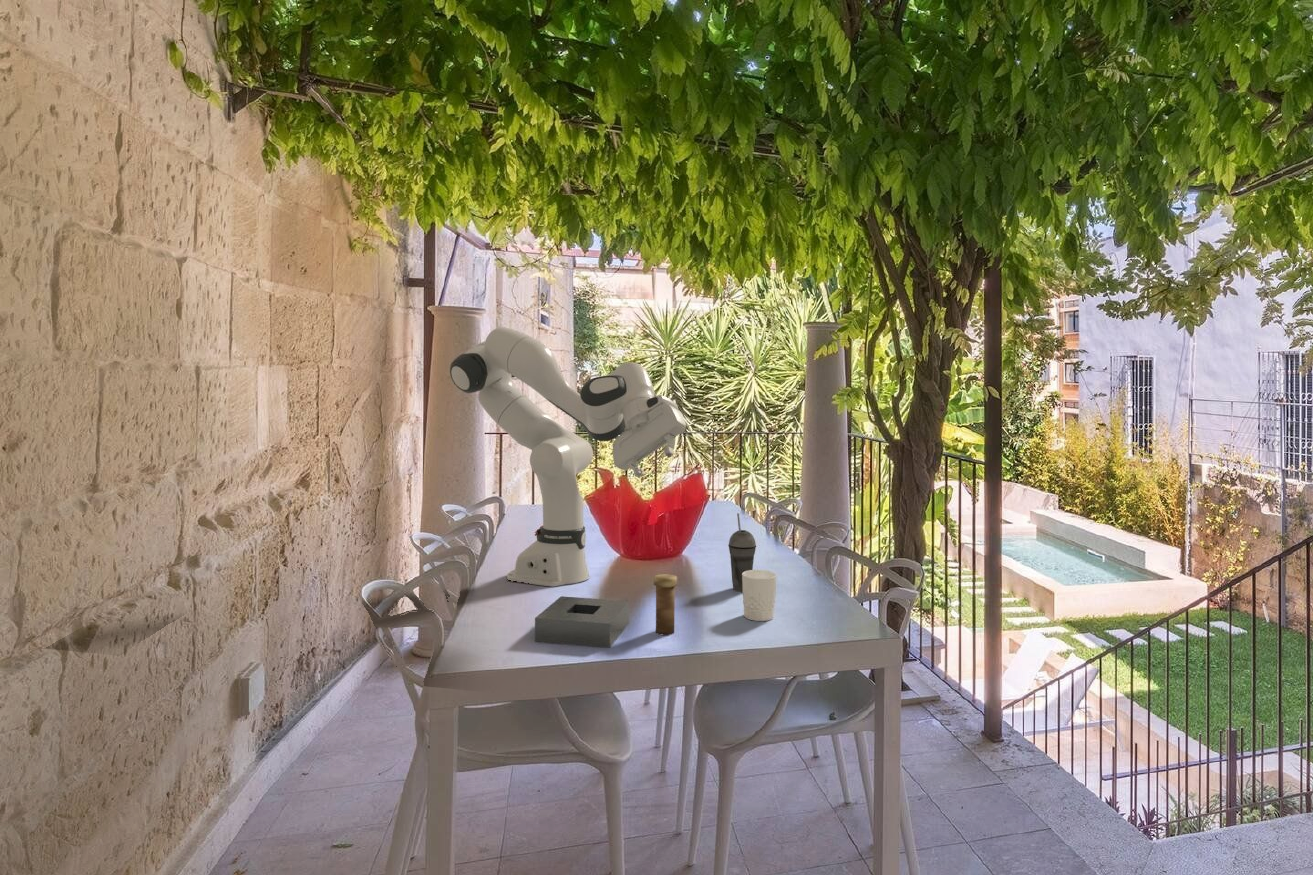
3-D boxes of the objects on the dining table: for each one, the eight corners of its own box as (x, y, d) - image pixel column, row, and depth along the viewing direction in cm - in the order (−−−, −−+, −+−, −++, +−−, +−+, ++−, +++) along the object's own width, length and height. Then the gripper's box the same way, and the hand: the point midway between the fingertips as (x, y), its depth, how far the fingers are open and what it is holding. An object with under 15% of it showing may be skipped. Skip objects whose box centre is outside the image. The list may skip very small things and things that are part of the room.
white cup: (738, 611, 171) (739, 570, 170) (771, 611, 172) (772, 569, 171) (745, 622, 163) (745, 578, 162) (779, 621, 164) (780, 578, 163)
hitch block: (535, 641, 150) (534, 617, 150) (561, 617, 166) (561, 596, 165) (609, 647, 147) (609, 623, 147) (629, 622, 162) (629, 600, 162)
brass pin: (651, 634, 155) (651, 579, 154) (656, 627, 160) (656, 573, 159) (674, 636, 154) (674, 580, 153) (678, 628, 159) (679, 574, 158)
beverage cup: (754, 593, 186) (755, 516, 184) (726, 592, 187) (727, 515, 186) (756, 586, 193) (757, 511, 192) (729, 584, 194) (730, 510, 193)
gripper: (602, 436, 176) (612, 483, 168) (665, 390, 168) (679, 438, 159) (620, 445, 181) (630, 491, 173) (682, 401, 172) (696, 447, 164)
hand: (654, 465), depth 166 cm, fingers open, 8 cm apart
